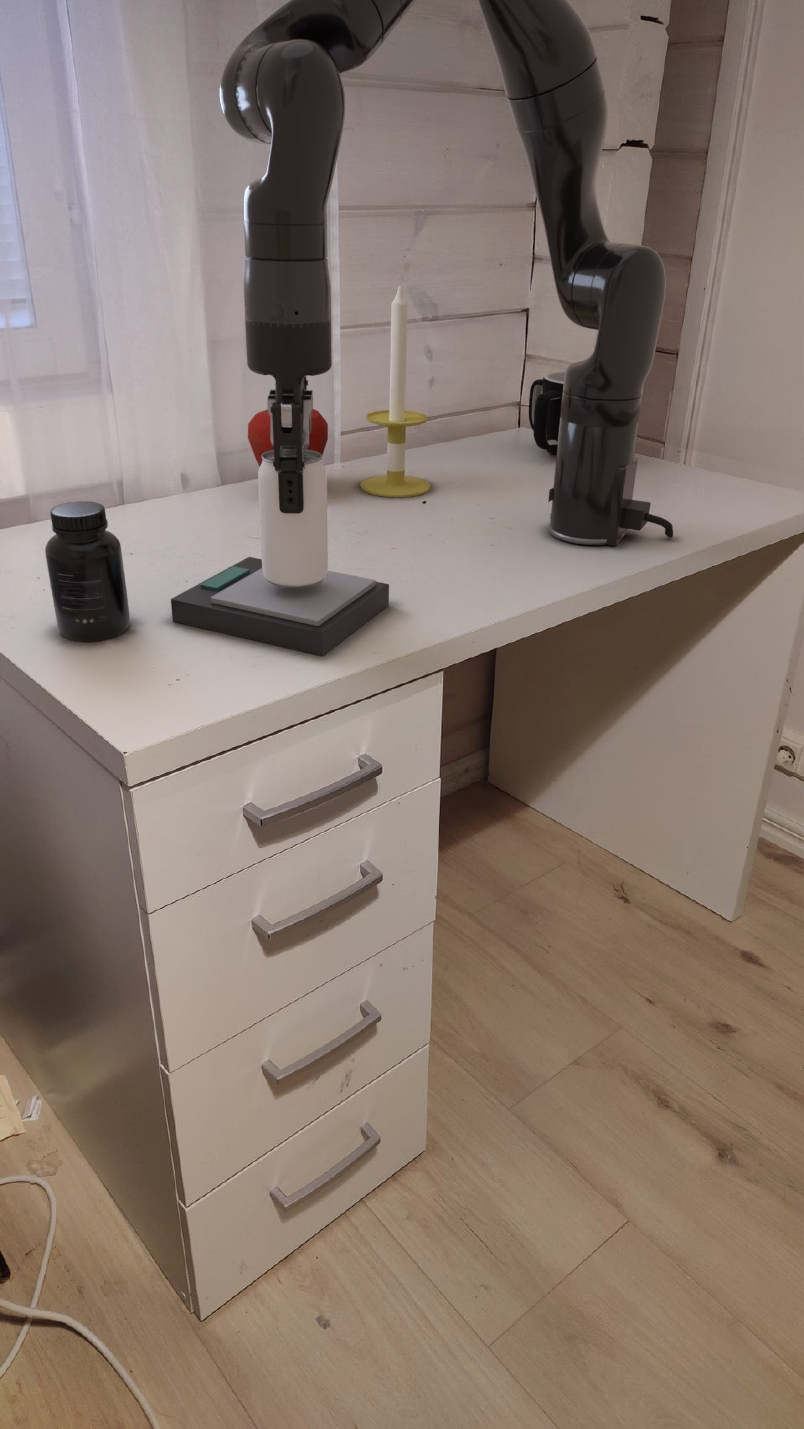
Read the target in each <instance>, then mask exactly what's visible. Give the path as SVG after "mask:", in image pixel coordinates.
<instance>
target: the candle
mask: <svg viewBox="0 0 804 1429" xmlns="http://www.w3.org/2000/svg"><path fill="white" fill-rule="evenodd" d="M408 306H409V303H408V302H407V301H406V299H405V297H404V293H403V288H402V286H401V282H400V281H399V285H398V287H397V291H396V295H395V297H394V299H393V300H392V302H391V307H390V308H391V310H390V353H389V354H390V355H389V357H390V359H389V361H390V362H389V365H390V366H389V407H388V408H389V409H388V410H387V409H386V410H385V409H384V410H378V411H377V410H376V411H372V412H369V413H367V414H366V416H365V419H366V420H367V421H368V422H369V423H371V424H374V425H379V426H384V427H387V438H386V440H387V441H386V442H387V444H386V446H387V447H386V475H378V476H374V477H373V476H372V477H369V478H367V479H364V480H362V482H361V483H360V485H359V487H360V489H361V491H363V492H365V493H367V494H370V495H374V496H378V497H384V498H411V497H412V498H413V497H416V496H422V495H425V494H427V493H428V492H429V491H430V489H431V484H429V483H428V482H427V481H426V480H423V479H421V478H417V477H414V476H407V475H405V471H406V435H407V434H406V430H407V427H415V426H420V425H423V424H426V423H427V421H428V418H429V417H428V416H427V415H426V414H424V413H421V412H418V411H412V410H406V383H407V382H406V378H407V346H408V345H407V342H408V340H407V339H408V308H409V307H408Z"/></svg>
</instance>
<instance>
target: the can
mask: <svg viewBox="0 0 804 1429" xmlns="http://www.w3.org/2000/svg"><path fill="white" fill-rule="evenodd" d="M282 457H297V450H296V448H286V449H283V450H282ZM322 458H323V455H321V454H320V453H318V452H316V451H313V450H308V449H304V463H305V469H304V473H303V496H304V508H303V511H302V512H301V513H298V514H297V513H282V512H281V511H280V509H279V485H278V473H277V472H276V471H275V467H273V461H274V450H271V451H268V452H265V453H264V454H262V459H263V461H262V464H261V466H260V467H259V468H258V472H257V485H258V486H257V487H258V491H257V492H258V507H259V508H258V510H259V534H260V553H261V554H260V555H261V559H262V572H263V576H264V577H265V578H266V580H267V581H268V582H270V583H271V584H274V585H277V586H281V587H289V588H300V587H308V586H312V585H316V584H318V583H320V582H322V581H323V580H324V578H325V577H326V576H327V574H328V571H329V547H328V545H329V544H328V543H329V541H328V540H329V538H328V537H329V536H328V535H329V534H328V533H329V532H328V478H327V477H328V476H327V470H326V467H325V466H324V463H323V461H322Z"/></svg>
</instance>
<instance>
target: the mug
mask: <svg viewBox="0 0 804 1429" xmlns="http://www.w3.org/2000/svg"><path fill="white" fill-rule="evenodd" d="M565 372H566V370H558V371H552V372H548V373H545V374H544V375H543V377H542V378H541V379H540V378H539V379H536V380H534V381H533V382H532V383H531V385H530V389H529V399H528V421H529V425H530V428H531V430H532V432H533V438H534V443H535V444H536V446H537V447H538V448H540V449H542V450H544V451H546V452H547V453H548V454H549V455H550V456H554V457H556V456H557V446H558V436H559V426H560V417H561V406H562V395H563V386H564V376H565Z"/></svg>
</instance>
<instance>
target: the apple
mask: <svg viewBox="0 0 804 1429" xmlns="http://www.w3.org/2000/svg"><path fill="white" fill-rule="evenodd" d="M247 440H248V442H249V445H250V448H251V451H252V453H253V456H254V458H255V460H256V463H257V465H258V467H259V468H260V466H261V464H262V461H263V459H262V454H264V453H265V452H268V451H271V450H274V447H273V446H272V444H271V440H270V415H269V412H268V409H264V410H262V411H261V410H260V411H258V412H257V413H255V414H254V415H253V417H252V418H251V419H250V420H249V422H248V423H247ZM328 440H329V424H328V422H327V420H326V419H325V418H324V416H323V415H322V414H321V413H320V411H319V410H317V409H315V408H313V409H312V415H311V433H310V434H309V446H308V447H307V449H308V450H313V451H316V452H318V453H320V454H321V455H322V456H323V455H324V452H325V449H326V447H327V444H328Z"/></svg>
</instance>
